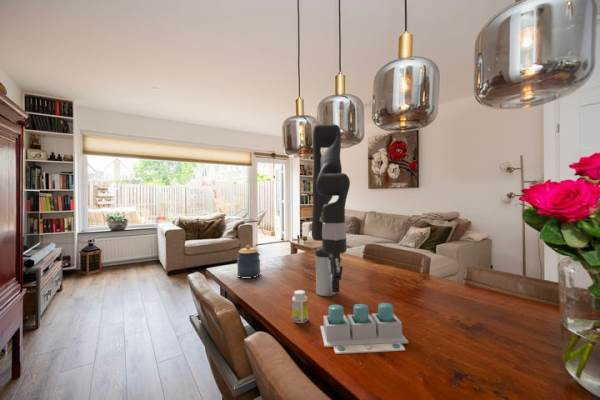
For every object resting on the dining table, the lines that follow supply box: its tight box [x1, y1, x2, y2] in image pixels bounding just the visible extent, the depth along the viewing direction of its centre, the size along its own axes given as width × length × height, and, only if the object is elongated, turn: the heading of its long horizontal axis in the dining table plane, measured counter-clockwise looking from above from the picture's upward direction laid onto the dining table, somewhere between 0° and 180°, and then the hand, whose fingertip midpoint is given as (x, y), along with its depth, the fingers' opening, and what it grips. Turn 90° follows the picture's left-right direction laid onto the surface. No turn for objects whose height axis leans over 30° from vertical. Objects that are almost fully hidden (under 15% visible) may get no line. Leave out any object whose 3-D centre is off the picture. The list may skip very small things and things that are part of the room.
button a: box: [328, 304, 344, 325], centre depth 86 cm, size 5×5×6 cm
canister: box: [236, 244, 261, 277], centre depth 154 cm, size 13×13×18 cm
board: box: [319, 312, 409, 348], centre depth 86 cm, size 12×25×5 cm, turn 92°
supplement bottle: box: [291, 289, 309, 324], centre depth 97 cm, size 6×6×10 cm
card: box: [332, 343, 406, 355], centre depth 78 cm, size 3×20×1 cm, turn 92°
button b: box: [353, 303, 369, 323], centre depth 86 cm, size 5×5×6 cm
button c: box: [377, 302, 395, 322], centre depth 86 cm, size 5×5×6 cm
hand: (335, 291), depth 85 cm, fingers closed
